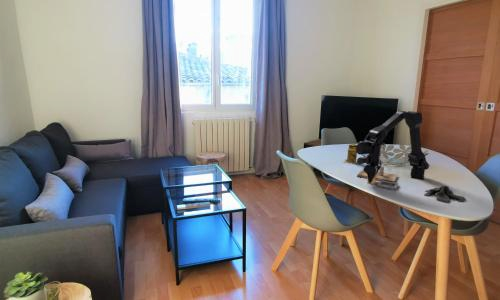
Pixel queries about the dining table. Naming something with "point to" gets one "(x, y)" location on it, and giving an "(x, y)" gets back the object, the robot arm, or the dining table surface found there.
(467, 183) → the dining table surface
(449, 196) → the cloth
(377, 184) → the link
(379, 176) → the keeper plate
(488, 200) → the dining table surface
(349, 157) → the condiment
